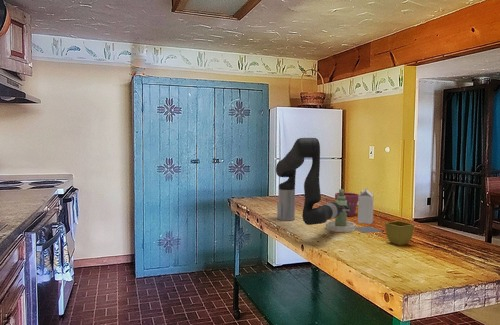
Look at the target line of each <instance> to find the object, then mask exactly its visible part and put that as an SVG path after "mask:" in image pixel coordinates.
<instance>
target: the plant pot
mask: <svg viewBox="0 0 500 325" xmlns="http://www.w3.org/2000/svg"><path fill="white" fill-rule="evenodd" d="M334 194H335V195H334V200H335V201H336V200H337V196H339V192H336V193H334ZM359 195H360V194H359V193H355V192H344V196H346V197H345V200H347V205H350V206H351V211H350V212H349V213H347V217H354V216H355V214H356V209H357V207H358V196H359Z"/></svg>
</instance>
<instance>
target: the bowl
mask: <svg viewBox="0 0 500 325" xmlns="http://www.w3.org/2000/svg"><path fill="white" fill-rule="evenodd" d="M356 225H357V224H356V223H354V222H352V221H349V220H347V221H346V226H335V220H327V221H326V222H325V228H326V230H328V231H330V232H331V231H332V232H336V233H350V232H351V233H352V232H355V231H356V227H357V226H356Z"/></svg>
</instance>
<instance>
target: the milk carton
mask: <svg viewBox="0 0 500 325" xmlns="http://www.w3.org/2000/svg"><path fill="white" fill-rule="evenodd" d="M359 193H360V194H359V196H358V203H357V207H358V208H357V223H359V224H367V225H368V224H369V225H371V224H373V221H374V194H373V193H372V192H370V191H369V190H368V187H366V188H365V189H364V190H363V189H362V190H361V191H360V192H359Z"/></svg>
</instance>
